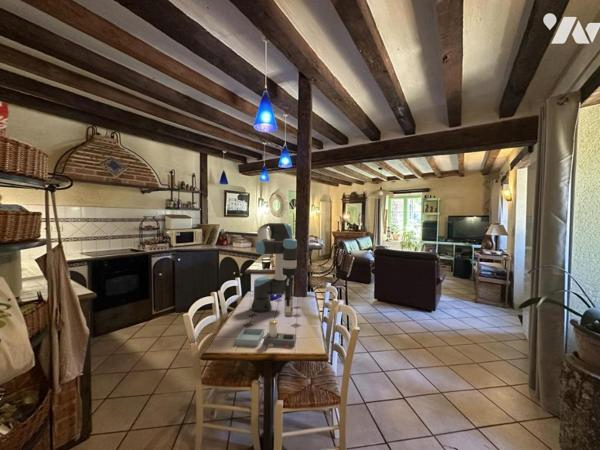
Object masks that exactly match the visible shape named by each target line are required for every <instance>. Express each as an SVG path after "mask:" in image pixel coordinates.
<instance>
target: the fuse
mask: <svg viewBox="0 0 600 450" xmlns="http://www.w3.org/2000/svg"><path fill="white" fill-rule="evenodd" d="M268 322H269V323H268V333H269V338H274V339H277V333H278V320H275V319H271V320H269V321H268Z"/></svg>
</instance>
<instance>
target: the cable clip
mask: <svg viewBox="0 0 600 450" xmlns="http://www.w3.org/2000/svg"><path fill="white" fill-rule="evenodd" d="M282 297H283V295H270V299H271V300H270V301H276V300H279V299H280V298H282ZM274 299H275V300H274Z"/></svg>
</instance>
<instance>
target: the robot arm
mask: <svg viewBox="0 0 600 450" xmlns="http://www.w3.org/2000/svg"><path fill="white" fill-rule="evenodd" d="M256 234H257V238H258V240H257V241H256V242H255V254H257V255H275V262H274V263H275V266H274V267H275V268H274V275H273V276H272V278H271V277H270V276H260V277H258V278H255V279H254V282H253V300H252V303H251V305H250V307H251V308H250V309H251V311H252V312H255V313H266V312H269V311H271V310H272V309H273V307H272V306H273V304H272V302H271V300H270V295H274V296H276V295H282V296H283V295H284V301H285V300H286V307H285V306H284V313H285V312H291V299H290V298H291V297H294V293H293V292H294V291H293V289H294V287H293V285H294V276H296V275H297V266H298V264H297V263H298V261H297V253H298V252H297V251H298V240H297V239H295V238H293V231H292V225H291V224H290V223H284V222H280V223H279V222H278V223H277V222H276V223H275V222H273V223H272V222H268V223H265V224H263V225H261V226H260V227H259V228H258V229H257V233H256Z"/></svg>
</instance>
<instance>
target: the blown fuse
mask: <svg viewBox="0 0 600 450" xmlns="http://www.w3.org/2000/svg"><path fill="white" fill-rule="evenodd" d="M293 297H294V296H291V298H290V299H291V312H285V311H284V318H293V313H294V312H293V310H294V307H293V306H294V298H293ZM285 307H286V300H284V308H285Z"/></svg>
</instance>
